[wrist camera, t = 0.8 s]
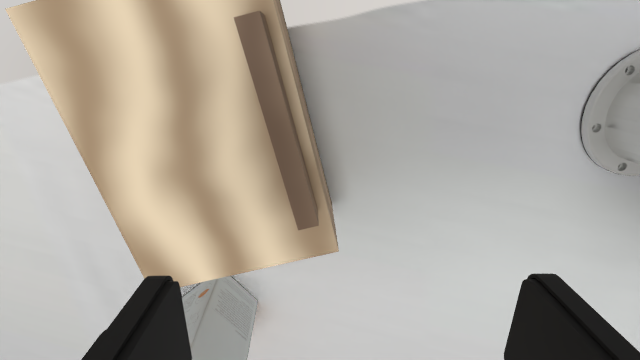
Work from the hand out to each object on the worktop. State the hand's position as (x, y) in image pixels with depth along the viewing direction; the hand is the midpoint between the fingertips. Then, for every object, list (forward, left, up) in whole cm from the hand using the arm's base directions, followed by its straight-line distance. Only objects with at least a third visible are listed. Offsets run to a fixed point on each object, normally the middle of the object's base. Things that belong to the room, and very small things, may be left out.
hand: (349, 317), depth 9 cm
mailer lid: (+9, -3, -17) cm, 20 cm away
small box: (+17, +17, -26) cm, 35 cm away
